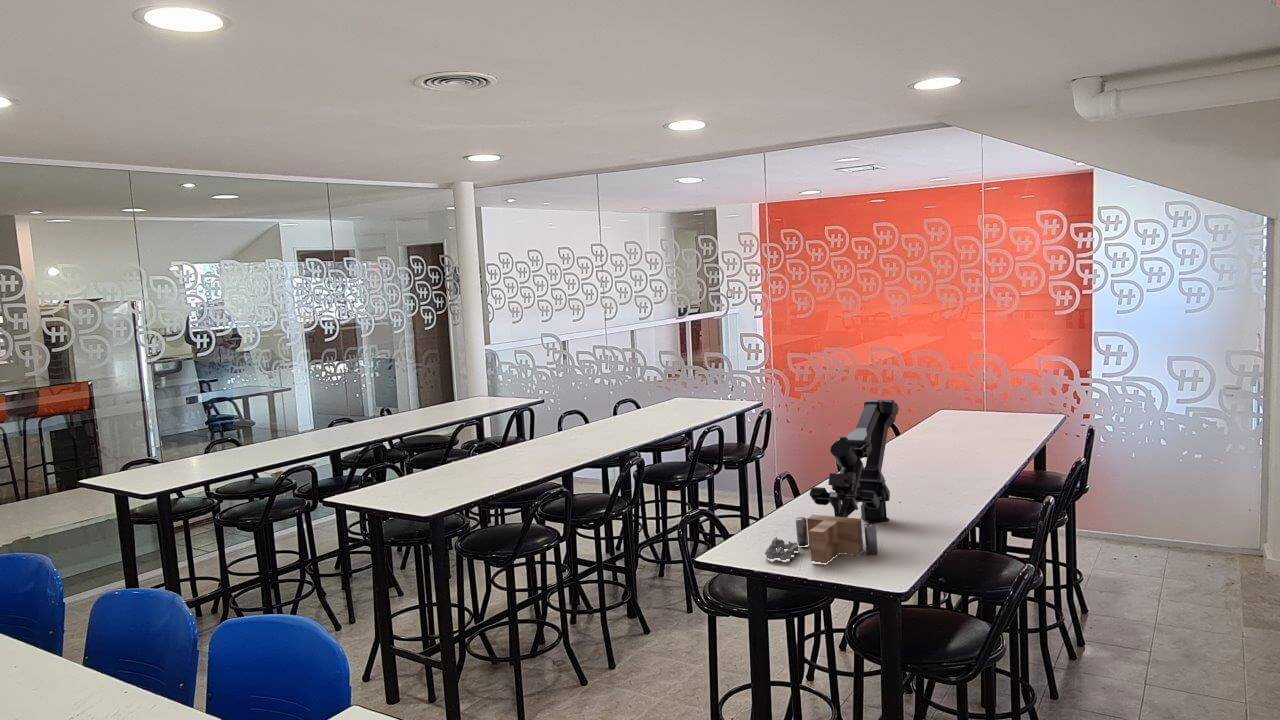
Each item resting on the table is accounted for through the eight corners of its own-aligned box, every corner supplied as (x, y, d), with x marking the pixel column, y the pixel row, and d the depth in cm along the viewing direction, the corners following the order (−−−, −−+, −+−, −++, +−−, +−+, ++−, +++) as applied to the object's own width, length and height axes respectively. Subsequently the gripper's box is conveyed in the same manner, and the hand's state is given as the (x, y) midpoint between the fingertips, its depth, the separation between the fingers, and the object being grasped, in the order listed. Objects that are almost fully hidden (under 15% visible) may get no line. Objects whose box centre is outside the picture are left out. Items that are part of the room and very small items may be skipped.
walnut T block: (815, 545, 240) (812, 514, 239) (863, 551, 232) (861, 518, 231) (794, 561, 228) (791, 529, 228) (844, 567, 220) (841, 533, 220)
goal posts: (800, 544, 242) (798, 516, 242) (879, 552, 229) (877, 523, 228) (796, 547, 240) (793, 519, 239) (875, 556, 227) (873, 527, 226)
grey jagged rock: (776, 550, 240) (775, 536, 240) (802, 552, 236) (801, 537, 236) (762, 562, 231) (761, 547, 231) (788, 564, 227) (787, 549, 227)
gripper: (809, 459, 244) (796, 507, 236) (872, 462, 233) (861, 512, 225) (822, 479, 251) (810, 527, 243) (884, 483, 240) (873, 533, 232)
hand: (837, 524), depth 235 cm, fingers closed, pressing on walnut T block
